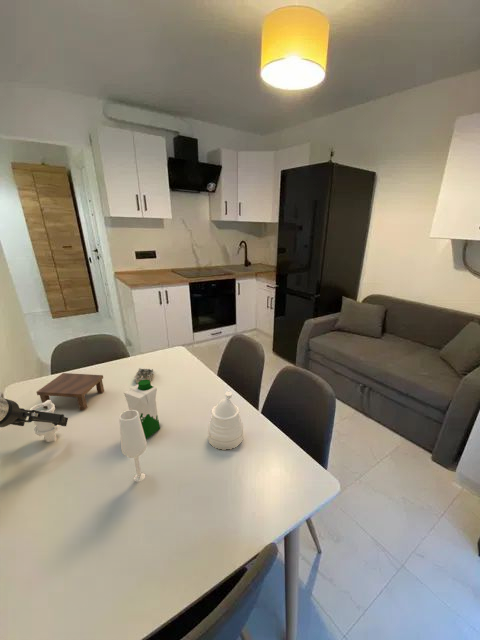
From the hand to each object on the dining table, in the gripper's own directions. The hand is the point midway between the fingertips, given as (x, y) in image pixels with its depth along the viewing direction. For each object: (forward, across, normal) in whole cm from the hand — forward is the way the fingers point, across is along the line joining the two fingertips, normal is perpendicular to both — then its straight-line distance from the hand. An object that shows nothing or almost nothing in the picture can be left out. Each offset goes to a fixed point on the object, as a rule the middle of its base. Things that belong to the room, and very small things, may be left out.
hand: (45, 422), depth 97 cm
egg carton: (+38, +18, +26) cm, 49 cm away
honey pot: (+8, +60, -5) cm, 61 cm away
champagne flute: (-6, +36, -18) cm, 40 cm away
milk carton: (+10, +30, -2) cm, 32 cm away
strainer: (+7, 0, -6) cm, 9 cm away
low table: (+25, -6, +13) cm, 29 cm away
